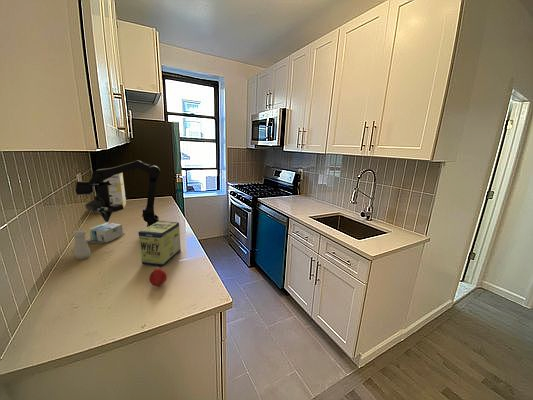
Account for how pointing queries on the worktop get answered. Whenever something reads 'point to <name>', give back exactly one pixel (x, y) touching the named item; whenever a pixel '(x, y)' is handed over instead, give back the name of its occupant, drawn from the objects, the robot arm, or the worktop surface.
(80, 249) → the salt shaker
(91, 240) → the mat
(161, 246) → the protein box
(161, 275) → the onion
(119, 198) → the pasta box
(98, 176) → the robot arm
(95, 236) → the light bulb box
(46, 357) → the worktop surface
